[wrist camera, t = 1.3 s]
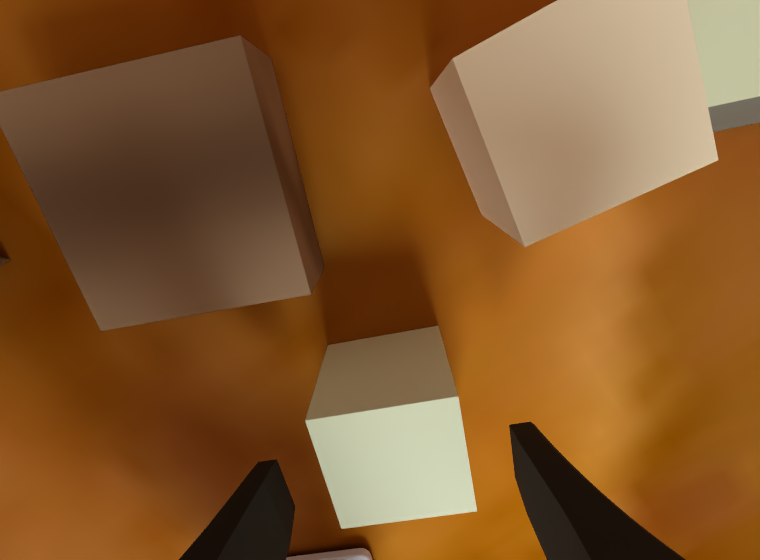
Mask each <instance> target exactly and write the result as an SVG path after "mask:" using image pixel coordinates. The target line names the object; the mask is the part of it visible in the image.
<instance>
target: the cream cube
mask: <svg viewBox="0 0 760 560" xmlns="http://www.w3.org/2000/svg"><path fill="white" fill-rule="evenodd" d="M430 91H431V93H432V96H433V98H434V101H435V103H436V105H437V108H438V110H439V113H440V115H441V118H442V120H443V122H444V125H445V127H446V130H447V132H448V135H449V137H450V139H451V142H452V144H453V147H454V149H455V152H456V154H457V156H458V159H459V161H460V164H461V166H462V169H463V171H464V173H465V176H466V178H467V181H468V183H469V186H470V188H471V190H472V193H473V195H474V198H475V200H476V203H477V205H478V207H479V210H480V212H481V215H482V216H484V217H485V218H486V219H488V220H489V221H490V222H492V223H493V224H494V225H496V226H497V227H498V228H500V229H501V230H502V231H504V232H505V233H507V234H508V235H509V236H511V237H512V238H513V239H515V240H516V241H517V242H519V243H520V244H521V245H523V246H524V247H526V246H529V245H531V244H533V243H535V242H537V241H540V240H542V239H544V238H546V237H549V236H551V235H553V234H555V233H557V232H560V231H562V230H564V229H566V228H569V227H571V226H573V225H575V224H577V223H580V222H582V221H584V220H586V219H589V218H591V217H593V216H595V215H597V214H600V213H602V212H604V211H606V210H608V209H611V208H613V207H615V206H617V205H620V204H622V203H624V202H626V201H628V200H631V199H633V198H635V197H637V196H640V195H642V194H644V193H646V192H648V191H651V190H653V189H655V188H657V187H660V186H662V185H664V184H666V183H668V182H671V181H673V180H675V179H677V178H680V177H682V176H684V175H686V174H688V173H691V172H693V171H695V170H697V169H700V168H702V167H704V166H706V165H708V164H711V163H713V162H715V161H717V160H718V156H717V151H716V145H715V140H714V135H713V130H712V125H711V120H710V115H709V110H708V105H707V99H706V94H705V89H704V84H703V79H702V74H701V69H700V64H699V59H698V54H697V48H696V43H695V38H694V33H693V28H692V23H691V18H690V13H689V8H688V2H687V0H557V1H555V2H553V3H551V4H549V5H548V6H546V7H544V8H542V9H540V10H539V11H537V12H535V13H533V14H531V15H530V16H528V17H526V18H524V19H522V20H521V21H519V22H517V23H515V24H513V25H512V26H510V27H508V28H506V29H504V30H503V31H501V32H499V33H497V34H495V35H494V36H492V37H490V38H488V39H486V40H485V41H483V42H481V43H479V44H477V45H476V46H474V47H472V48H470V49H468V50H467V51H465V52H463V53H461V54H459V55H458V56H456V57H454V58H452V59H451V61H450V62H449V63H448V65H447V66H446V67H445V69H444V70H443V71H442V73H441V74H440V75H439V77H438V78H437V79H436V81H435V82H434V83H433V85H432V86H431V87H430Z"/></svg>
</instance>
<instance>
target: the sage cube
mask: <svg viewBox="0 0 760 560" xmlns="http://www.w3.org/2000/svg"><path fill="white" fill-rule="evenodd" d="M305 422H306V425H307V428H308V431H309V434H310V437H311V440H312V443H313V446H314V449H315V452H316V455H317V458H318V461H319V464H320V467H321V470H322V473H323V476H324V478H325V481H326V484H327V487H328V490H329V493H330V496H331V499H332V502H333V505H334V508H335V511H336V514H337V517H338V520H339V523H340V526H341V529H345V528H353V527H360V526H368V525H376V524H383V523H391V522H398V521H406V520H414V519H421V518H429V517H436V516H444V515H452V514H459V513H467V512H474V511H477V508H476V502H475V496H474V490H473V484H472V477H471V471H470V465H469V459H468V453H467V447H466V441H465V435H464V429H463V423H462V417H461V411H460V405H459V399H458V394H457V390H456V387H455V383H454V380H453V376H452V373H451V369H450V365H449V362H448V358H447V355H446V351H445V348H444V344H443V340H442V337H441V333H440V330H439V326H433V327H428V328H422V329H416V330H411V331H405V332H399V333H393V334H388V335H382V336H376V337H371V338H365V339H359V340H354V341H348V342H342V343H337V344H331V345H328V346H327V349H326V352H325V356H324V359H323V362H322V366H321V369H320V372H319V376H318V379H317V382H316V386H315V389H314V393H313V396H312V399H311V403H310V406H309V409H308V413H307V416H306V419H305Z"/></svg>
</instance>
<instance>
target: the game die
mask: <svg viewBox="0 0 760 560" xmlns="http://www.w3.org/2000/svg"><path fill="white" fill-rule="evenodd" d="M8 261H10V259H7V258H4V257H0V266H1V265H3V264H4V263H6V262H8Z"/></svg>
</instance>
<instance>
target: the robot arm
mask: <svg viewBox="0 0 760 560" xmlns="http://www.w3.org/2000/svg"><path fill="white" fill-rule="evenodd" d="M509 427H510V436H511V444H512V453H513V462H514V471H515V478H516V481H517V484H518V487H519V490H520V494H521V497H522V500H523V503H524V506H525V509H526V512H527V514H528V517H529V519H530V521H531V524H532V526H533V528H534V531H535V533H536V535H537V538H538V540H539V542H540V545H541V547H542V549H543V551H544V554H545V556H546V558H547V560H685V559H684V558H683V557H681V556H680V555H679V554H677V553H676V552H675V551H673V550H672V549H670V548H669V547H668V546H666V545H665V544H664V543H662V542H661V541H660V540H658V539H657V538H656V537H655V536H653V535H652V534H651V533H649V532H648V531H647V530H645V529H644V528H643V527H642V526H640V525H639V524H638V523H637V522H635V521H634V520H633V519H632V518H631V517H629V516H628V515H627V514H626V513H625V512H623V511H622V510H621V509H620V508H619V507H617V506H616V505H615V504H614V503H613V502H612V501H611V500H609V499H608V498H607V497H606V496H605V495H604V494H603V493H601V492H600V491H599V490H598V489H597V488H596V487H595V486H594V485H593V484H592V483H590V482H589V481H588V480H587V479H586V478H585V477H584V476H583V475H582V474H581V473H580V472H579V471H578V470H577V469H576V468H575V467H574V466H573V465H572V464H571V463H570V462H569V461H568V460H567V459H566V458H565V457H564V456H563V455H562V454H561V453H560V452H559V451H558V450H557V449H556V448H555V447H554V446H553V445H552V444H551V443H550V442H549V441H548V439H547V438H546V437H545V436H544V435H543V434H542V433H541V432H540V431H539V429H538V428H537V427H536V426H535V425H534V424H533V423H531V422H525V423H519V424H512V425H509ZM294 511H295V505H294V503H293V500H292V497H291V495H290V492H289V490H288V487H287V484H286V482H285V479H284V477H283V474H282V472H281V469H280V466H279V464H278V461H277V459H276V460H269V461H262V462H258V463H257V464H256V466H255V467H254V468H253V469H252V471H251V472H250V473H249V474H248V476H247V477H246V478H245V479H244V481H243V482H242V483H241V485H240V486H239V487H238V489H237V490H236V491H235V492H234V494H233V495H232V496H231V498H230V499H229V500H228V501H227V503H226V504H225V505H224V506H223V508H222V509H221V510H220V511H219V513H218V514H217V515H216V516H215V518H214V519H213V520H212V521H211V523H210V524H209V525H208V526H207V528H206V529H205V530H204V531H203V532H202V533H201V535H200V536H199V537H198V538H197V539H196V540H195V542H194V543H193V544H192V545H191V546H190V547H189V549H188V550H187V551H186V552H185V553H184V554H183V556H182V557H181V558H180V559H179V560H372V556H371V554H370V552H369V551H368V550H367V549H364V548H355V549H347V550H339V551H331V552H323V553H315V554H307V555H300V556H292V557H287V554H288V549H289V545H290V540H291V533H292V527H293V519H294Z"/></svg>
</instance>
